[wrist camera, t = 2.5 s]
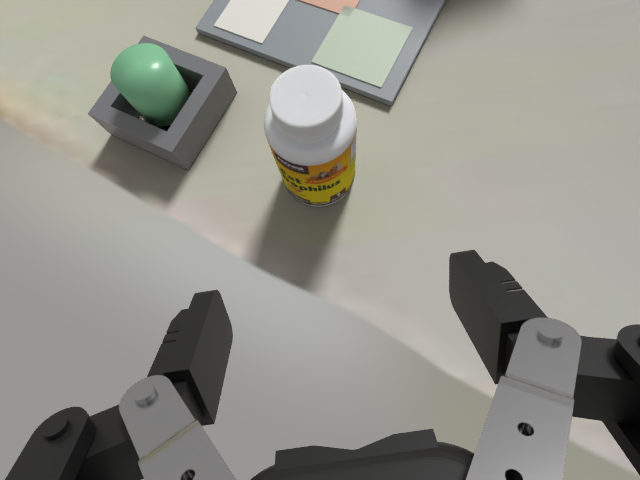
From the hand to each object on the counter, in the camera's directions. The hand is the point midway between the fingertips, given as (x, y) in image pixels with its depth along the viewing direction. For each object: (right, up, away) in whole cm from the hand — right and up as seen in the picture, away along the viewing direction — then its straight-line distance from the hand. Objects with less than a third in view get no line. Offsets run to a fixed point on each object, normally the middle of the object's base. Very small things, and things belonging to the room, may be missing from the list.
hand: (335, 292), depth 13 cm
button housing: (-13, +13, +20) cm, 27 cm away
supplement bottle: (-1, +7, +17) cm, 18 cm away
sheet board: (+1, +24, +22) cm, 33 cm away
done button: (-13, +13, +18) cm, 26 cm away
